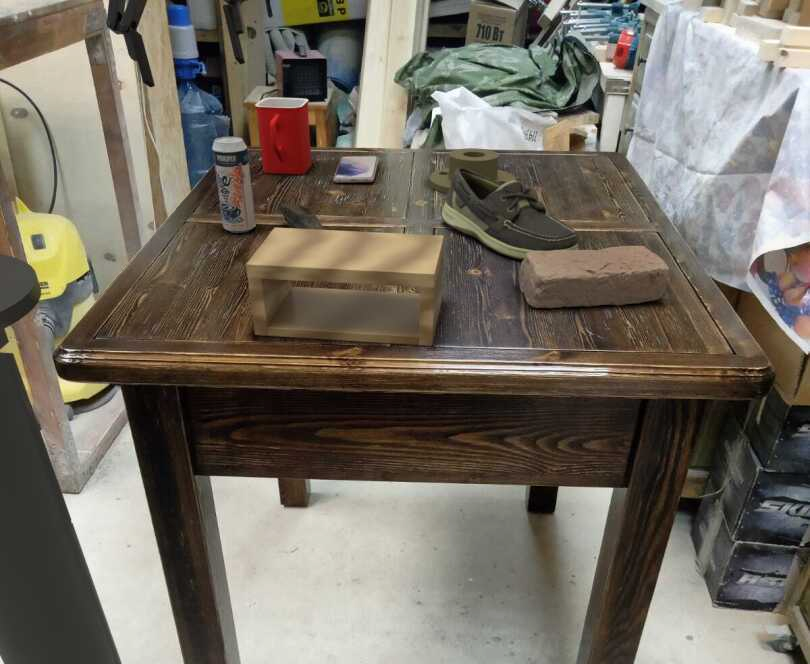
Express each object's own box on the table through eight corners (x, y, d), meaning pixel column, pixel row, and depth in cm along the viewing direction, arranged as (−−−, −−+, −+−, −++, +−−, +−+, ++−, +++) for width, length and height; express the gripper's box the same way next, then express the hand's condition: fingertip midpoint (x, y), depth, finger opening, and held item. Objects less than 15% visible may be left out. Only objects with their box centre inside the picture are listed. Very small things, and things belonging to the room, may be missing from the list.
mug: (271, 161, 142) (265, 97, 136) (314, 163, 142) (310, 98, 135) (254, 179, 133) (246, 111, 126) (300, 181, 133) (294, 112, 126)
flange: (495, 170, 121) (532, 150, 131) (414, 157, 127) (455, 139, 137) (493, 201, 124) (529, 179, 134) (413, 187, 130) (453, 168, 140)
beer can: (217, 231, 112) (203, 141, 105) (236, 222, 115) (225, 134, 108) (243, 236, 111) (231, 145, 103) (262, 226, 114) (253, 138, 106)
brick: (532, 311, 91) (537, 272, 88) (515, 284, 97) (519, 246, 94) (664, 305, 93) (674, 267, 90) (639, 279, 99) (647, 243, 96)
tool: (366, 271, 104) (368, 248, 102) (315, 276, 101) (316, 253, 99) (305, 212, 116) (306, 192, 114) (258, 216, 113) (258, 194, 111)
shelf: (254, 335, 85) (245, 264, 80) (281, 293, 94) (274, 227, 89) (432, 346, 84) (434, 273, 78) (441, 302, 93) (444, 235, 88)
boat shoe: (553, 273, 100) (561, 208, 95) (417, 229, 114) (418, 169, 108) (595, 255, 106) (605, 192, 100) (460, 214, 119) (463, 157, 114)
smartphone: (332, 178, 131) (341, 156, 142) (333, 184, 131) (341, 161, 143) (374, 177, 131) (379, 155, 142) (374, 183, 131) (379, 161, 143)
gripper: (246, -116, 104) (284, 59, 110) (76, -67, 106) (122, 100, 112) (231, -146, 96) (272, 42, 103) (49, -94, 99) (100, 87, 105)
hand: (194, 73), depth 108 cm, fingers open, 13 cm apart
